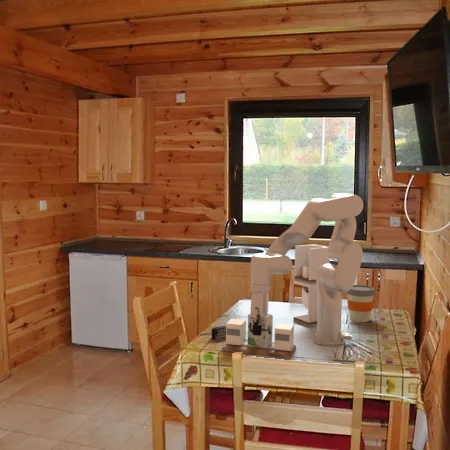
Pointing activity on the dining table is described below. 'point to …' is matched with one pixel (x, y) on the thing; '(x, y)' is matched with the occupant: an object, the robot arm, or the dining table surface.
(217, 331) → the mobile phone
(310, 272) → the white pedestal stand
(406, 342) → the dining table surface
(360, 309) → the reusable coffee cup
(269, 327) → the ink box
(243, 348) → the rail board
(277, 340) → the mounted modules
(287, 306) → the dining table surface
